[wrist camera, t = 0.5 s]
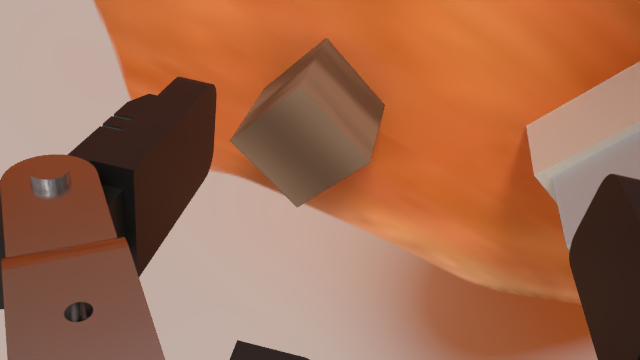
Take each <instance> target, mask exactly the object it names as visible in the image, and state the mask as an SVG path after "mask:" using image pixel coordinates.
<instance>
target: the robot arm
mask: <svg viewBox="0 0 640 360" xmlns="http://www.w3.org/2000/svg"><path fill="white" fill-rule="evenodd" d="M215 113H216V88H215V86H214V85H213V84H209V83H205V82H200V81H196V80H191V79H187V78H182V77H177V78H176V79H175V80H173V81H172V82H171V83H170V84H169V85H168V86H167V87H166V88H165V89H164V90H163V91H162V92H161V93H160V94H159V95H158V96H157V95H152V94H147V95H145V96H142V97H140V98H137V99H134V100H132V101H129V102H127V103H126V104H125V105H124V106H123V107H122V108H120V109H119V110H118V111H117V112H116V113H115V114H114V117H110V118H109V119H108V120H107V121H106V122H105V123H103V126H102V127H99V128H98V129H96V130H95V131H94V132H93V133H92V134H91V135H90V136H89V137H88V138H86V139H85V140H84V141H83V142H82V143H81V144H80V145H78V146H77V147H76V148H75V149H74V150H73V151H71V152H70V153H69V154H68V155H43V156H37V157H33V158H29V159H26V160H23V161H21V162H19V163H17V164H15V165H14V166H12V167H10V168H9V169H8V170H7V171H6V172H5V173H4V174H3V176H2V178H1V180H0V309H4V311H5V327H6V342H7V356H8V360H165V358H164V355H163V352H162V349H161V345H160V342H159V339H158V336H157V333H156V330H155V327H154V324H153V321H152V317H151V314H150V311H149V308H148V305H147V302H146V299H145V296H144V292H143V289H142V286H141V283H140V280H139V277H140V275H141V273H142V272H143V271H144V269H145V267H146V266H147V264H148V263H149V262H150V260H151V259H152V257H153V256H154V254H155V253H156V251H157V250H158V248H159V247H160V245H161V244H162V242H163V241H164V239H165V238H166V236H167V235H168V233H169V232H170V230H171V229H172V227H173V226H174V224H175V223H176V221H177V220H178V218H179V217H180V215H181V214H182V212H183V211H184V209H185V208H186V206H187V205H188V203H189V202H190V201H191V199H192V198H193V196H194V195H195V193H196V192H197V190H198V188H199V187H200V185H201V184H202V183H203V181H204V179H205V178H206V176H207V174H208V172H209V169H210V166H211V162H212V157H213V150H214V132H215ZM569 261H570V266H571V270H572V273H573V276H574V280H575V283H576V287H577V290H578V293H579V297H580V300H581V304H582V307H583V310H584V314H585V317H586V321H587V324H588V327H589V331H590V334H591V338H592V341H593V344H594V348H595V351H596V354H597V358H598V360H640V180H639V179H635V178H630V177H626V176H621V175H617V174H609V175H608V176H606V177H605V178H604V180H603V181H602V182H601V184H600V186H599V188H598V190H597V192H596V194H595V196H594V198H593V199H592V201H591V203H590V205H589V207H588V209H587V211H586V213H585V215H584V217H583V219H582V221H581V223H580V224H579V226H578V228H577V230H576V232H575V234H574V236H573V239H572V242H571V247H570V254H569ZM230 360H309V359H307V358H305V357H301V356H297V355H293V354H289V353H285V352H280V351H277V350H273V349H269V348H265V347H261V346H258V345H253V344H250V343H245V342H242V341H238V340H237V343H236V345H235V348H234V350H233V353H232V355H231V358H230Z"/></svg>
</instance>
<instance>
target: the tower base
mask: <svg viewBox="0 0 640 360" xmlns="http://www.w3.org/2000/svg"><path fill="white" fill-rule="evenodd" d="M526 128H527V135H528V141H529V147H530V153H531V160H532V166H533V172H534V176H535V177H536V178H537V180H538V181H539V182H540V183H541V185H542V186H543V187H544V188H545V189H546V191H547V192H548V193H549V194H550V196H551V197H552V198H553V199H554V201H555V202H556V203H557V199H556V194H555V189H554V185H553V180H552V176H554V175H556V174H558V173H559V172H561V171H563V170H565V169H567V168H569V167H571V166H573V165H575V164H577V163H578V162H580V161H582V160H584V159H586V158H588V157H590V156H592V155H594V154H596V153H598V152H599V151H601V150H603V149H605V148H607V147H609V146H611V145H613V144H615V143H617V142H618V141H620V140H622V139H624V138H626V137H628V136H630V135H632V134H634V133H636V132H638V131H639V130H640V61H639V62H637V63H635V64H634V65H632V66H630V67H628V68H627V69H625V70H623V71H621V72H620V73H618V74H616V75H614V76H613V77H611V78H609V79H607V80H606V81H604V82H602V83H600V84H599V85H597V86H595V87H593V88H591V89H590V90H588V91H586V92H584V93H583V94H581V95H579V96H577V97H576V98H574V99H572V100H570V101H569V102H567V103H565V104H563V105H562V106H560V107H558V108H556V109H555V110H553V111H551V112H549V113H548V114H546V115H544V116H542V117H541V118H539V119H537V120H535V121H533V122H532V123H530V124H528V125H526Z"/></svg>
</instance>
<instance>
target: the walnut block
mask: <svg viewBox="0 0 640 360" xmlns="http://www.w3.org/2000/svg"><path fill="white" fill-rule="evenodd" d="M384 106H385V105H384V104H383V103H382V101H381V100H380V99H379V98H378V97H377V96H376V95H375V93H374V92H373V91H372V90H371V89H370V88H369V86H368V85H367V84H366V83H365V82H364V81H363V79H362V78H361V77H360V76H359V75H358V74H357V72H356V71H355V70H354V69H353V68H352V67H351V65H350V64H349V63H348V62H347V61H346V60H345V58H344V57H343V56H342V55H341V54H340V53H339V52H338V50H337V49H336V48H335V47H334V46H333V45H332V43H331V42H330V41H329V40H328V39H327V38H326V39H325V40H323V41H322V42H321V43H320V44H318V45H317V46H316V47H315V48H313V49H312V50H311V51H310V52H308V53H307V54H306V55H305V56H304V57H302V58H301V59H300V60H299V61H297V62H296V63H295V64H294V65H292V66H291V67H290V68H289V69H288V70H286V71H285V72H284V73H283V74H281V75H280V76H279V77H278V78H276V79H275V80H274V81H273V82H272V83H270V84H269V85H268V86H267V87H265V88H264V90H263V91H262V93H261V94H260V96H259V97H258V99H257V100H256V102H255V103H254V105H253V106H252V108H251V109H250V111H249V112H248V114H247V115H246V117H245V119H244V120H243V122H242V123H241V125H240V126H239V128H238V129H237V131H236V132H235V134H234V135H233V137H232V138H231V140H230V141H231V142H232V143H233V144H234V145H235V146H236V147H237V148H238V149H239V150H240V151H241V152H242V153H243V154H244V155H245V156H246V157H247V158H248V159H249V160H250V161H251V162H252V163H253V164H254V165H255V166H256V167H257V168H258V169H259V170H260V171H261V172H262V173H263V174H264V175H265V176H266V177H267V178H268V179H269V180H270V181H271V182H272V183H273V184H274V185H275V186H276V187H277V188H278V189H279V190H280V191H281V192H282V193H283V194H284V195H285V196H286V197H287V198H288V199H289V200H290V201H291V202H292V203H293V204H294V205H295V206H296V207H299V206H301V205H302V204H304V203H305V202H307V201H309V200H310V199H312V198H313V197H315V196H317V195H318V194H320V193H322V192H323V191H325V190H326V189H328V188H330V187H331V186H333V185H334V184H336V183H338V182H339V181H341V180H343V179H344V178H346V177H347V176H349V175H351V174H352V173H354V172H355V171H357V170H359V169H360V168H362V167H364V166H365V165H367V164H368V163H370V161H371V157H372V153H373V149H374V145H375V141H376V137H377V133H378V129H379V126H380V122H381V118H382V114H383V110H384Z"/></svg>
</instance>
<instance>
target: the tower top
mask: <svg viewBox="0 0 640 360" xmlns="http://www.w3.org/2000/svg"><path fill="white" fill-rule="evenodd" d="M609 174H617V175H621V176H626V177H630V178H635V179H639V180H640V130H639V131H638V132H636V133H634V134H632V135H630V136H628V137H626V138H624V139H622V140H620V141H618V142H617V143H615V144H613V145H611V146H609V147H607V148H605V149H603V150H601V151H599V152H598V153H596V154H594V155H592V156H590V157H588V158H586V159H584V160H582V161H580V162H578V163H577V164H575V165H573V166H571V167H569V168H567V169H565V170H563V171H561V172H559V173H558V174H556V175H554V176H552V180H553V185H554V189H555V194H556V199H557V204H558V209H559V213H560V218H561V223H562V228H563V233H564V237H565V242H566V247H567V248H568V249H569V250H570V247H571V242H572V239H573V236H574V234H575V232H576V230H577V228H578V226H579V224H580V223H581V221H582V219H583V217H584V215H585V213H586V211H587V209H588V207H589V205H590V203H591V201H592V199H593V198H594V196H595V194H596V192H597V190H598V188H599V186H600V184H601V182H602V181H603V180H604V178H605V177H606V176H608V175H609Z"/></svg>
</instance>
